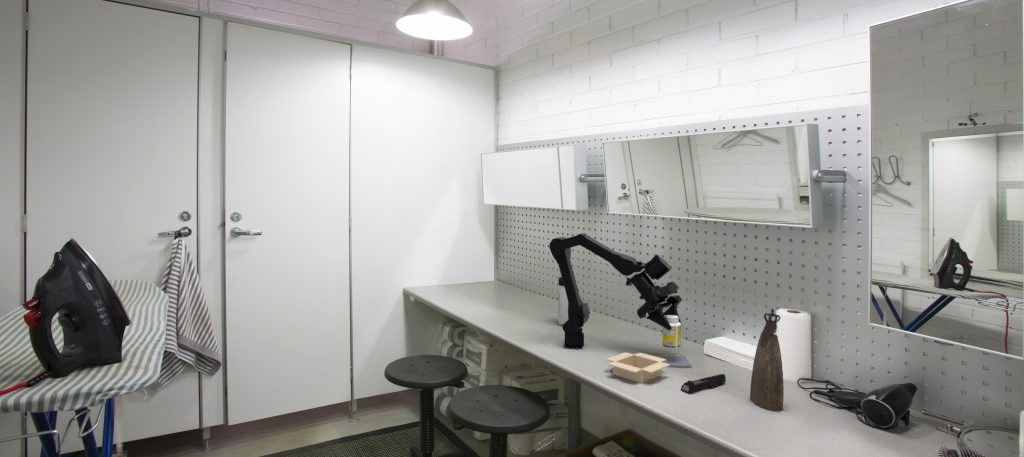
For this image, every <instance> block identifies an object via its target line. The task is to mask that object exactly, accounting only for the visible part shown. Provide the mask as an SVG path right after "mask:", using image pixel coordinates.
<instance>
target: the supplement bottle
mask: <svg viewBox="0 0 1024 457" xmlns="http://www.w3.org/2000/svg"><path fill="white" fill-rule="evenodd" d="M665 317H666V319H667V321H668V322H669V324H670V326H671V328H672V329H671V330H668V329H666V328H664V327H662V347H663V348H664V349H667V350H680V349H681V346H682V342H681V341H682V332H681V331H682V326H681V324H682V322H681V323H680V322H678V321H679V318H680V316H679V317H678V316H676V315H666V316H665Z"/></svg>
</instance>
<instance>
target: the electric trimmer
mask: <svg viewBox="0 0 1024 457" xmlns="http://www.w3.org/2000/svg"><path fill="white" fill-rule="evenodd" d="M726 380H727V378H726V374H725V373H720V374H716V375H711V376H706V377H704V378H699V379H695V380H688V381H685V382H684V383H683V384H682V385H681V387H680V392H682V393H684V394H687V395H693V393H694V392H696V391H702V390H704V389H712V388H716V387H718V386H720V385H722V384H724V383H725V382H726Z"/></svg>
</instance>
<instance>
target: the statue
mask: <svg viewBox="0 0 1024 457" xmlns="http://www.w3.org/2000/svg"><path fill="white" fill-rule="evenodd" d="M774 312H775V310H774V308H771V309H770V312H769V313H768V312H767V313H764V315H763V318H764V321H765V325H764V326H763V329H762V331H761V333H760V335H759V338H758V341H757V346H756V350H755V354H754V359H753V365H752V372H751V380H750V387H749V388H750V389H749V390H750V391H749V398H750V400H751V401H752V402H753V403H754V405H756V406H759V407H760V408H763V409H766V410H771V411H774V412H775V411H777V412H780V411H781V410H783V407H784V393H785V392H784V391H785V390H784V389H785V388H784V371H783V359H782V354H781V353H782V352H781V345H780V342H779V337H778V335H777V334H775V333H776V332H777V331H778V330H777V329H778V324H777V323H779V321H780V320H781V315H778V314H776V313H774ZM767 316H768V318H767ZM772 317H774V320H773V319H772Z"/></svg>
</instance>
